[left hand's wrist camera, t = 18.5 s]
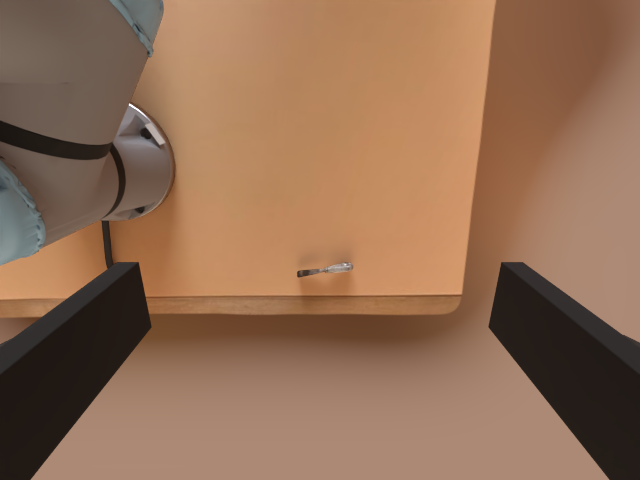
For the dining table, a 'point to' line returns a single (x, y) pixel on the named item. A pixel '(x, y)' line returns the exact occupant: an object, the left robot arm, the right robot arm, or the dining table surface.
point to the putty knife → (327, 269)
